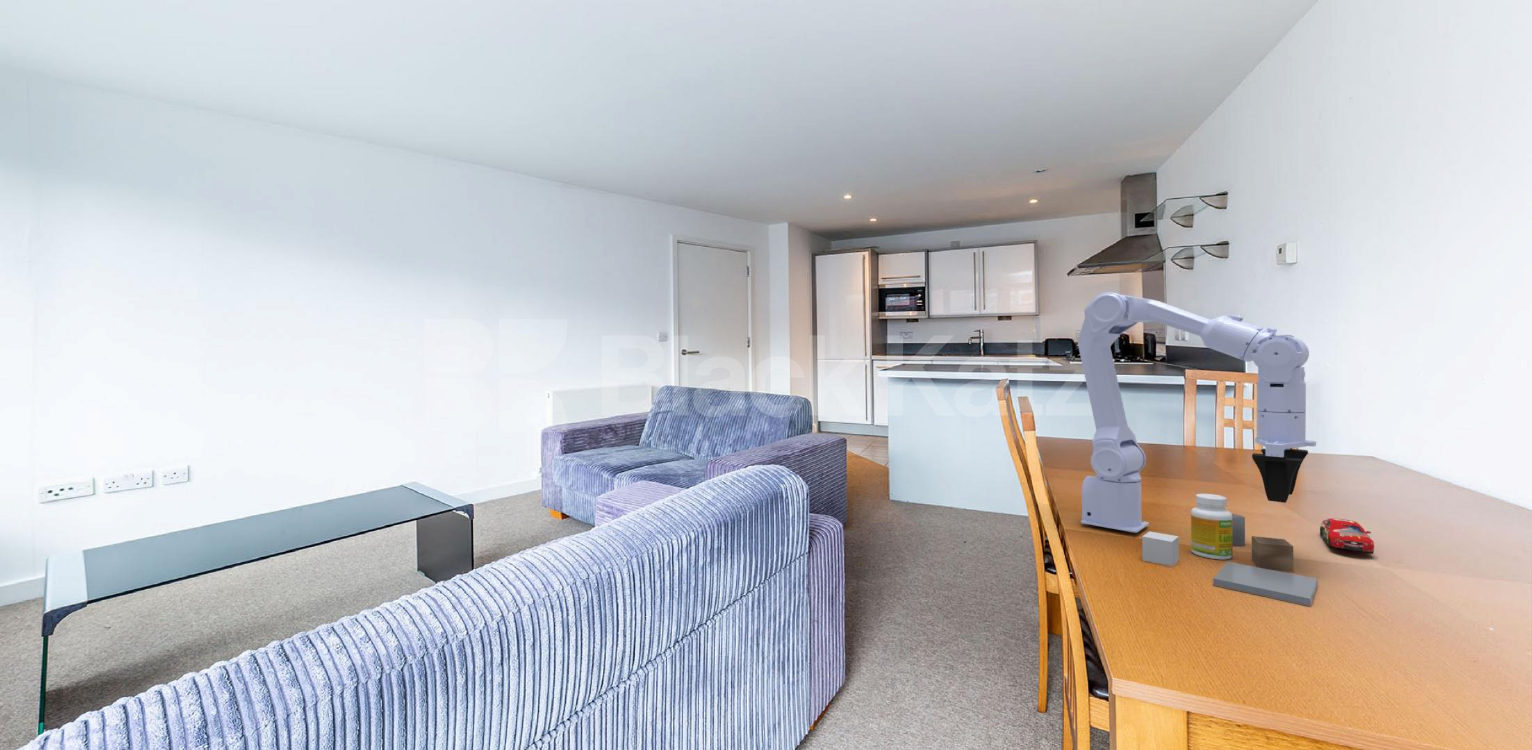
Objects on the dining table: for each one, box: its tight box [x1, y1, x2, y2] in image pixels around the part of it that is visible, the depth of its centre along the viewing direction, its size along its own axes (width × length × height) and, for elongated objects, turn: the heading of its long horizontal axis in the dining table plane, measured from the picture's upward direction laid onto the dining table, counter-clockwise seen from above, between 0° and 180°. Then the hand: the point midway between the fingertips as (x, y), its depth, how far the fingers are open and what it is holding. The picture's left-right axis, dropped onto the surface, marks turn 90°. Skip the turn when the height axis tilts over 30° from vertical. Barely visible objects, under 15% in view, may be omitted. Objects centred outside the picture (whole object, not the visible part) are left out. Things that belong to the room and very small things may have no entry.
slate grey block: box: [1231, 513, 1246, 547], centre depth 99 cm, size 4×4×5 cm
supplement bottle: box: [1190, 493, 1234, 561], centre depth 94 cm, size 5×5×10 cm
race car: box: [1319, 518, 1375, 555], centre depth 96 cm, size 13×5×4 cm, turn 141°
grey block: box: [1141, 531, 1180, 567], centre depth 92 cm, size 4×4×4 cm
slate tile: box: [1212, 561, 1319, 607], centre depth 81 cm, size 10×10×1 cm
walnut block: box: [1251, 535, 1294, 573], centre depth 88 cm, size 4×4×4 cm
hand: (1280, 497), depth 90 cm, fingers open, 7 cm apart
